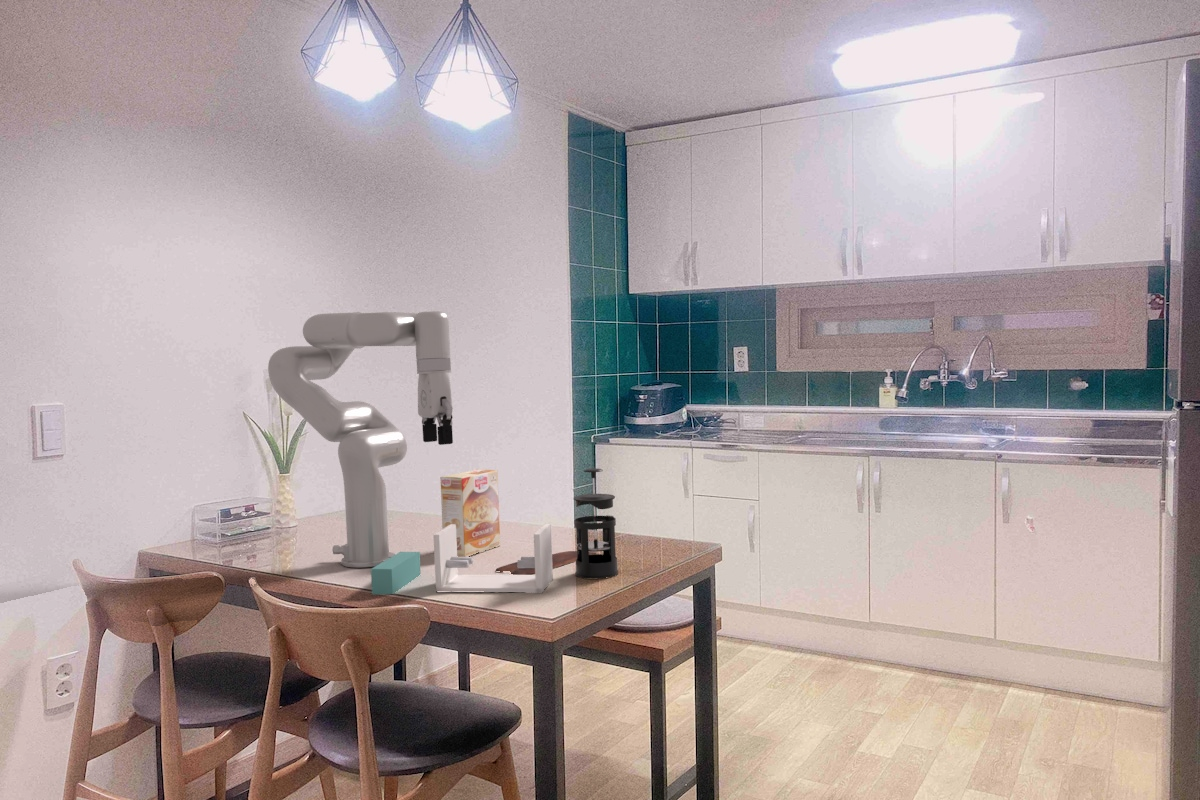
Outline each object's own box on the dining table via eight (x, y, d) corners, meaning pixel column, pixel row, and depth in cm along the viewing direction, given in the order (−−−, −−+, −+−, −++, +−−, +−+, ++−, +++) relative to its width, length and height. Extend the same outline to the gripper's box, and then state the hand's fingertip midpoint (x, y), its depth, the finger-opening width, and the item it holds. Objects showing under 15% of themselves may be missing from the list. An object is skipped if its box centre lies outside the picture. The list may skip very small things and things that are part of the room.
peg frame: (436, 592, 185) (433, 534, 184) (452, 579, 196) (450, 524, 195) (541, 593, 182) (539, 534, 181) (553, 579, 192) (550, 523, 192)
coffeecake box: (465, 558, 215) (462, 477, 214) (442, 556, 219) (438, 476, 218) (501, 546, 228) (498, 469, 227) (479, 544, 232) (476, 468, 231)
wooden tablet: (572, 545, 222) (602, 545, 215) (573, 554, 222) (603, 555, 215) (491, 568, 202) (521, 568, 195) (492, 578, 202) (523, 579, 195)
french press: (602, 582, 189) (598, 472, 188) (565, 577, 194) (561, 471, 193) (630, 569, 199) (626, 465, 198) (594, 565, 204) (590, 464, 203)
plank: (392, 595, 185) (391, 569, 185) (372, 595, 186) (370, 568, 185) (420, 576, 201) (419, 551, 200) (401, 576, 201) (400, 551, 201)
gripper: (405, 368, 208) (409, 442, 209) (431, 367, 193) (435, 446, 194) (436, 366, 211) (440, 439, 212) (464, 365, 197) (468, 443, 197)
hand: (437, 442), depth 203 cm, fingers open, 9 cm apart
